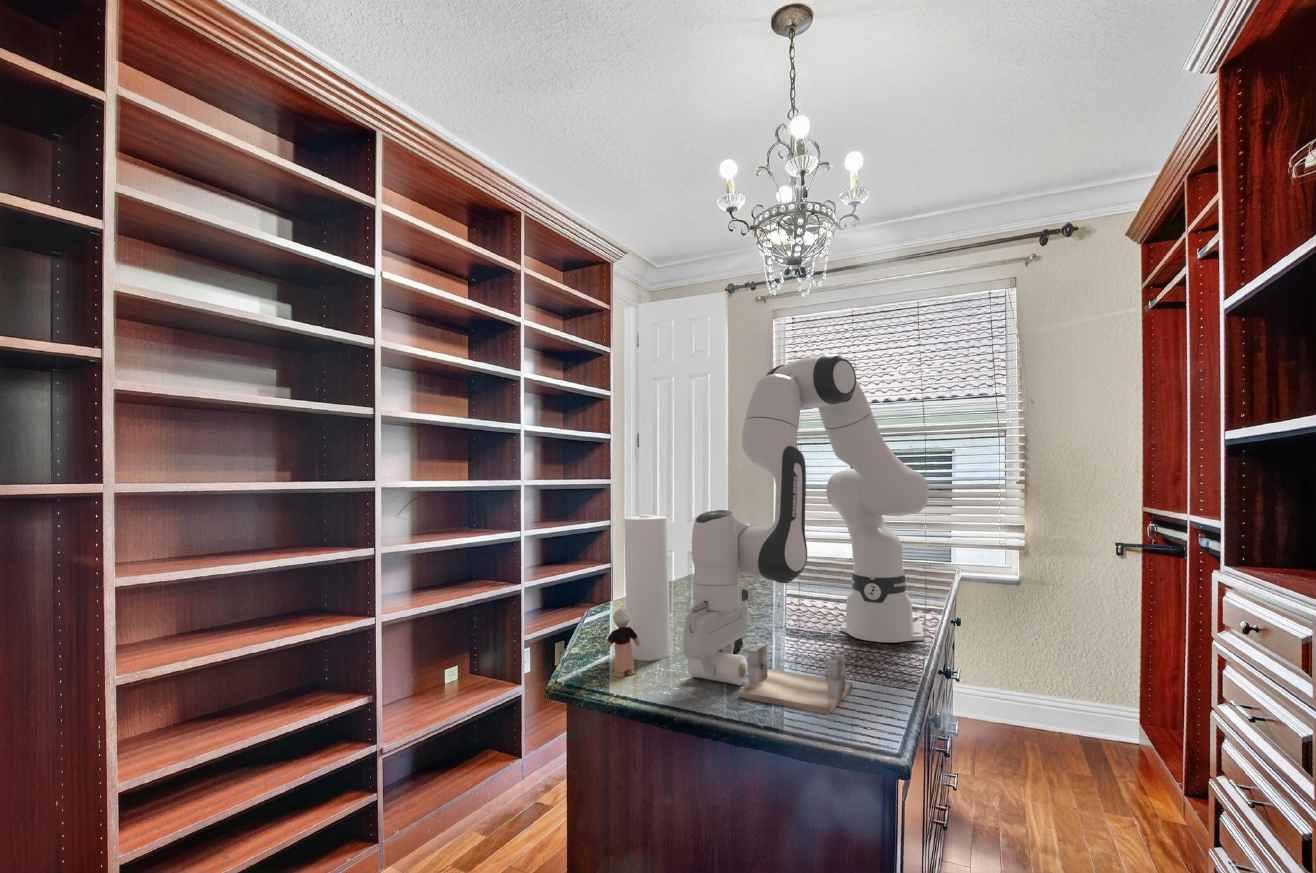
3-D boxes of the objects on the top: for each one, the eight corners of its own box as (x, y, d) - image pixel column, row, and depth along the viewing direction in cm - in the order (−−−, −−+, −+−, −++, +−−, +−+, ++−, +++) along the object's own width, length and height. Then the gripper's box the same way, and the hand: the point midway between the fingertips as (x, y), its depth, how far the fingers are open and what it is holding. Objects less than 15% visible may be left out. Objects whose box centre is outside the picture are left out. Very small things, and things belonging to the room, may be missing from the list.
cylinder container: (619, 658, 135) (617, 516, 137) (637, 646, 144) (635, 513, 145) (660, 662, 132) (657, 517, 133) (676, 649, 140) (673, 513, 142)
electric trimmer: (747, 650, 141) (747, 635, 141) (715, 668, 128) (715, 652, 128) (732, 647, 143) (732, 633, 143) (699, 665, 130) (698, 649, 130)
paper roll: (691, 682, 122) (683, 662, 120) (701, 661, 126) (694, 642, 124) (741, 691, 116) (734, 671, 114) (751, 669, 120) (744, 649, 118)
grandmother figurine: (630, 667, 128) (629, 604, 129) (643, 671, 126) (641, 607, 126) (600, 677, 123) (599, 611, 124) (613, 681, 120) (612, 614, 121)
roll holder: (769, 673, 123) (768, 637, 123) (852, 687, 114) (851, 648, 115) (738, 696, 111) (737, 656, 111) (828, 714, 102) (827, 670, 103)
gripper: (704, 609, 110) (707, 690, 109) (753, 588, 127) (755, 658, 127) (673, 606, 113) (675, 684, 113) (724, 586, 131) (726, 654, 130)
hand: (718, 670), depth 120 cm, fingers closed on paper roll, 5 cm apart
